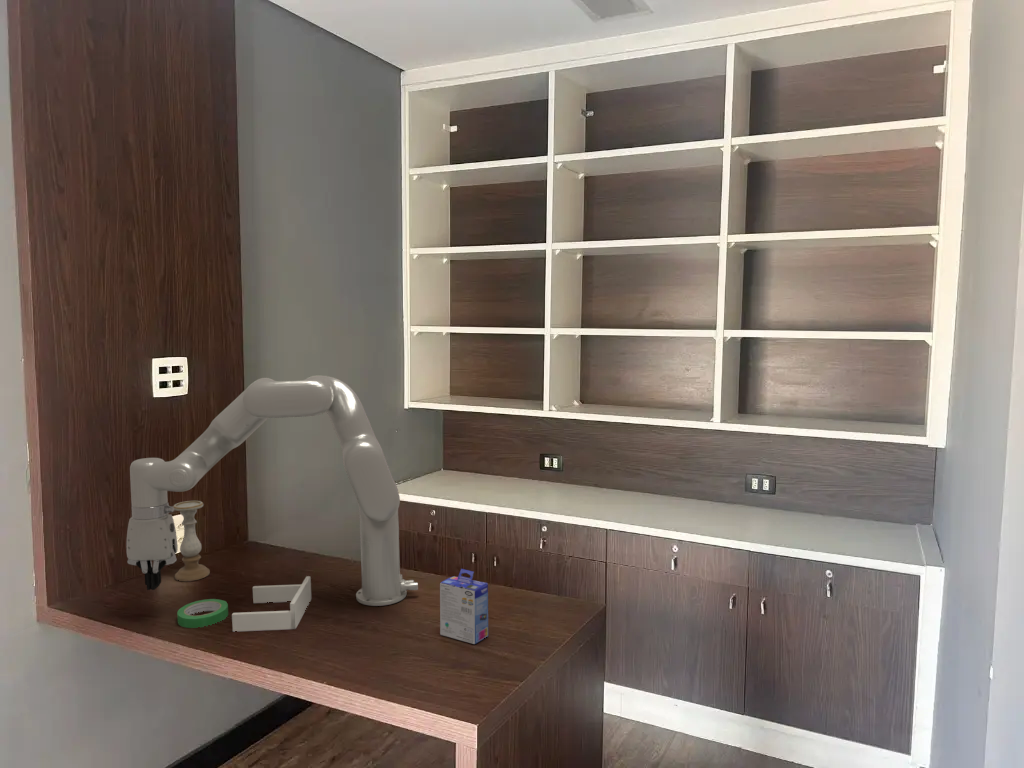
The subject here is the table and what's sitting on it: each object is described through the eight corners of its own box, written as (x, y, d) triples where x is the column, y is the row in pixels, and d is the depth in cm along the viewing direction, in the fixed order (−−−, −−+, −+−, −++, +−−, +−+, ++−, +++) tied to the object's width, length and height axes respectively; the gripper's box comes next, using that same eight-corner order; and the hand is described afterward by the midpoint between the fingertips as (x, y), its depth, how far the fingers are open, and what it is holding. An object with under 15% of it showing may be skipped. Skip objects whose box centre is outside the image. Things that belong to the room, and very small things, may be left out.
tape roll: (209, 631, 163) (208, 619, 163) (167, 627, 166) (166, 615, 166) (237, 611, 174) (237, 600, 174) (198, 607, 177) (197, 597, 176)
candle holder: (179, 584, 191) (174, 510, 189) (171, 575, 198) (166, 503, 196) (213, 576, 197) (209, 504, 195) (204, 567, 203) (200, 498, 201)
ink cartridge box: (490, 635, 158) (489, 572, 157) (476, 645, 154) (474, 580, 152) (454, 626, 163) (452, 564, 162) (439, 635, 159) (437, 572, 157)
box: (311, 599, 180) (310, 576, 179) (295, 629, 163) (294, 603, 162) (254, 601, 179) (253, 578, 178) (232, 631, 162) (231, 606, 161)
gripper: (189, 506, 171) (192, 581, 173) (124, 507, 170) (128, 582, 172) (176, 515, 163) (179, 593, 165) (108, 516, 162) (112, 594, 164)
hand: (153, 587), depth 168 cm, fingers closed
